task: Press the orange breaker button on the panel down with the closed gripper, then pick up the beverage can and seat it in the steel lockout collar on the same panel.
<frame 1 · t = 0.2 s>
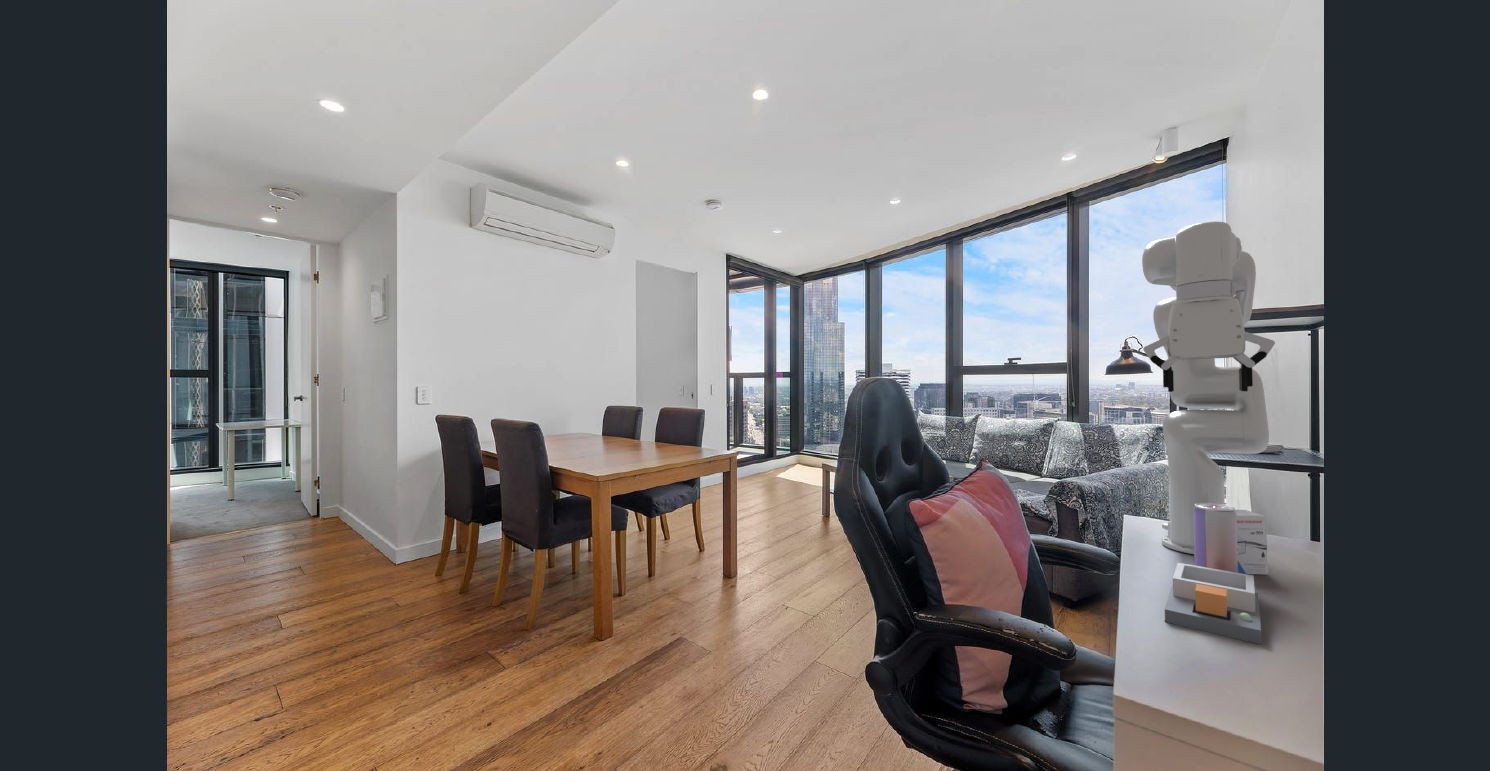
hand: (1206, 391, 91), 37 cm above the table, tool pointing down, fingers open, 9 cm apart
beverage can: (1216, 587, 97), on the table
breaker button: (1211, 599, 82), point 4 cm above the table, slide at 0.0 cm
ink box: (1234, 571, 104), on the table
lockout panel: (1213, 605, 88), on the table
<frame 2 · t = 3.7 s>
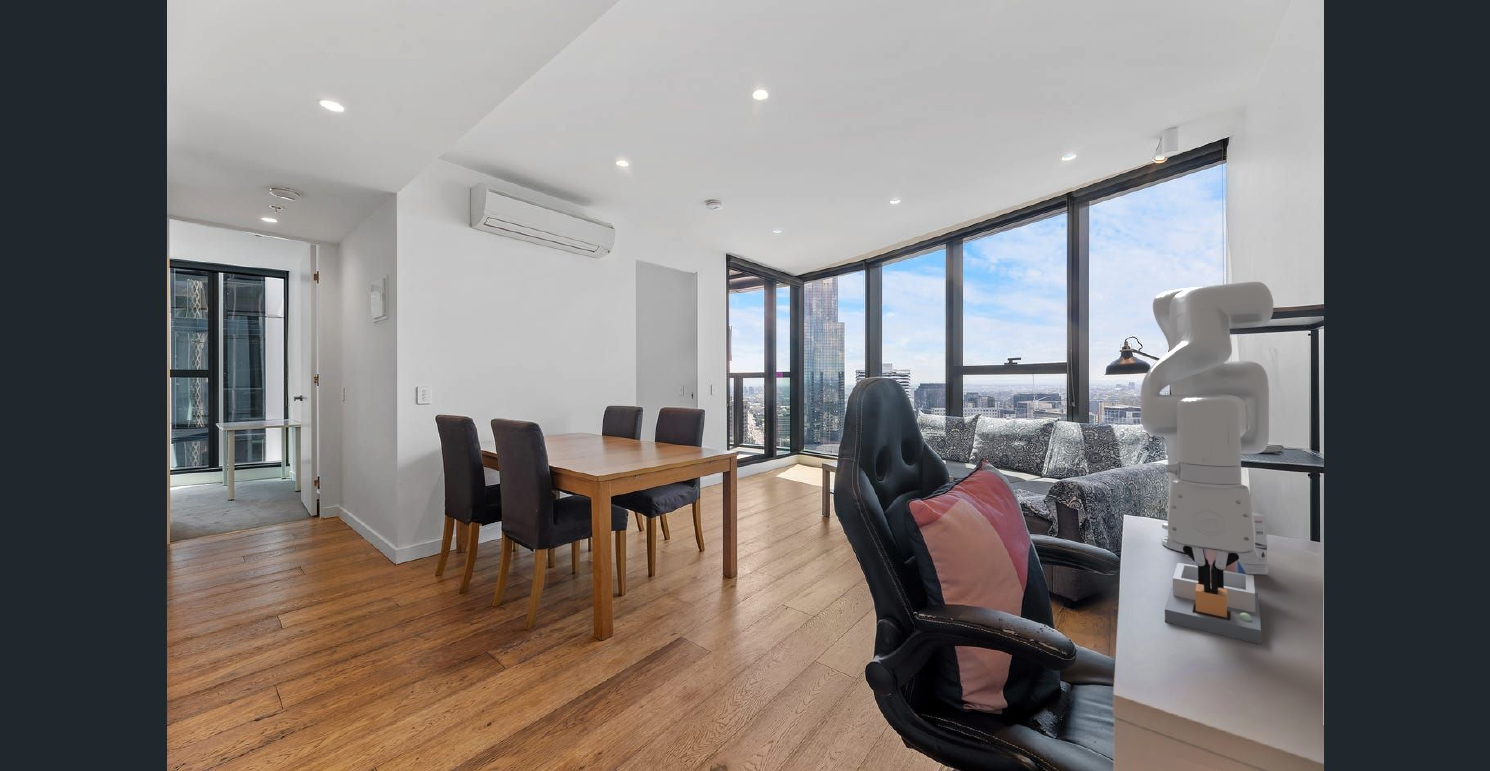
hand: (1211, 590, 82), 5 cm above the table, tool pointing down, fingers closed
breaker button: (1211, 600, 82), point 4 cm above the table, slide at 0.1 cm, touching gripper
everything else where it was.
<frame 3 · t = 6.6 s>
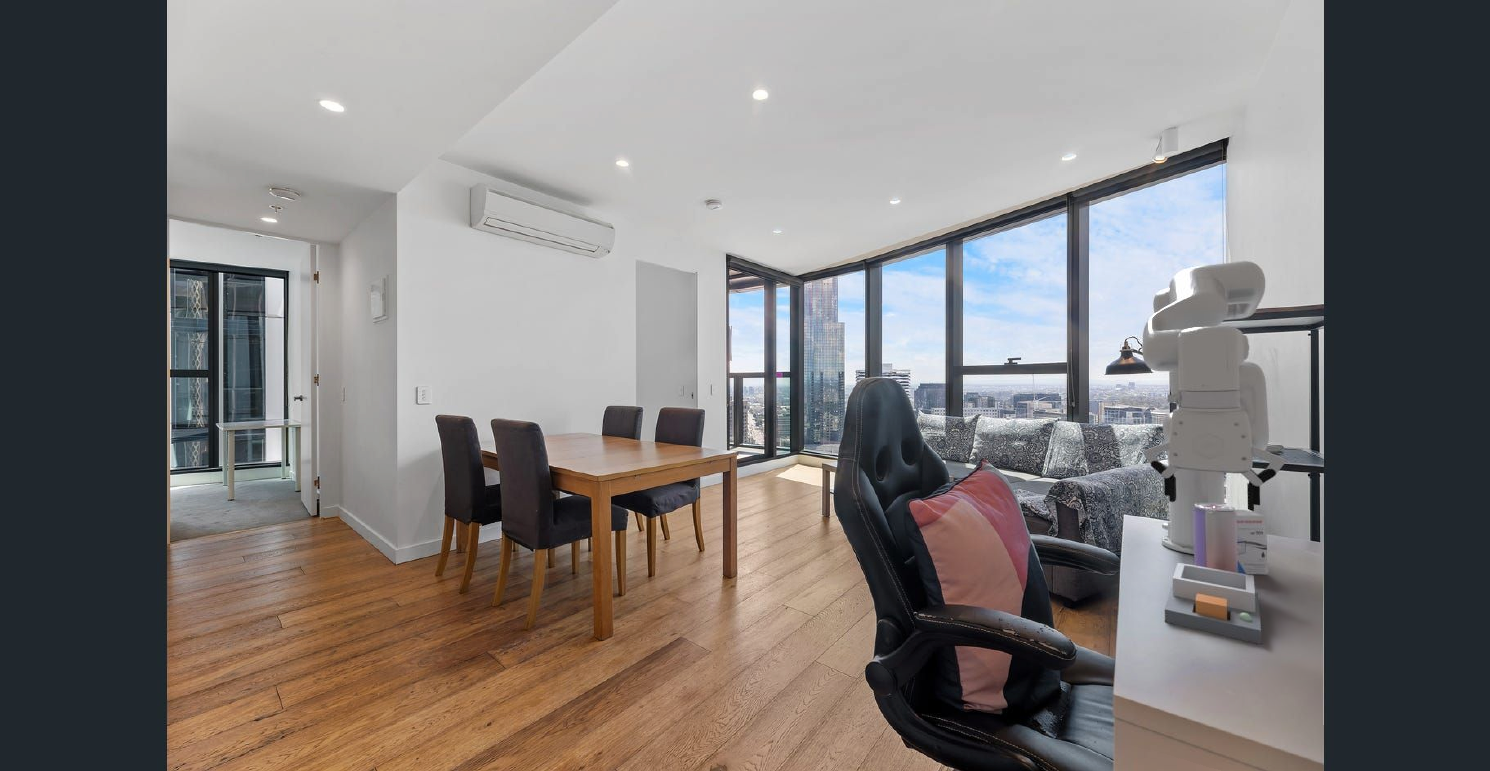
hand: (1210, 504, 86), 18 cm above the table, tool pointing down, fingers open, 9 cm apart
breaker button: (1211, 609, 82), point 2 cm above the table, slide at 1.6 cm
everything else where it was.
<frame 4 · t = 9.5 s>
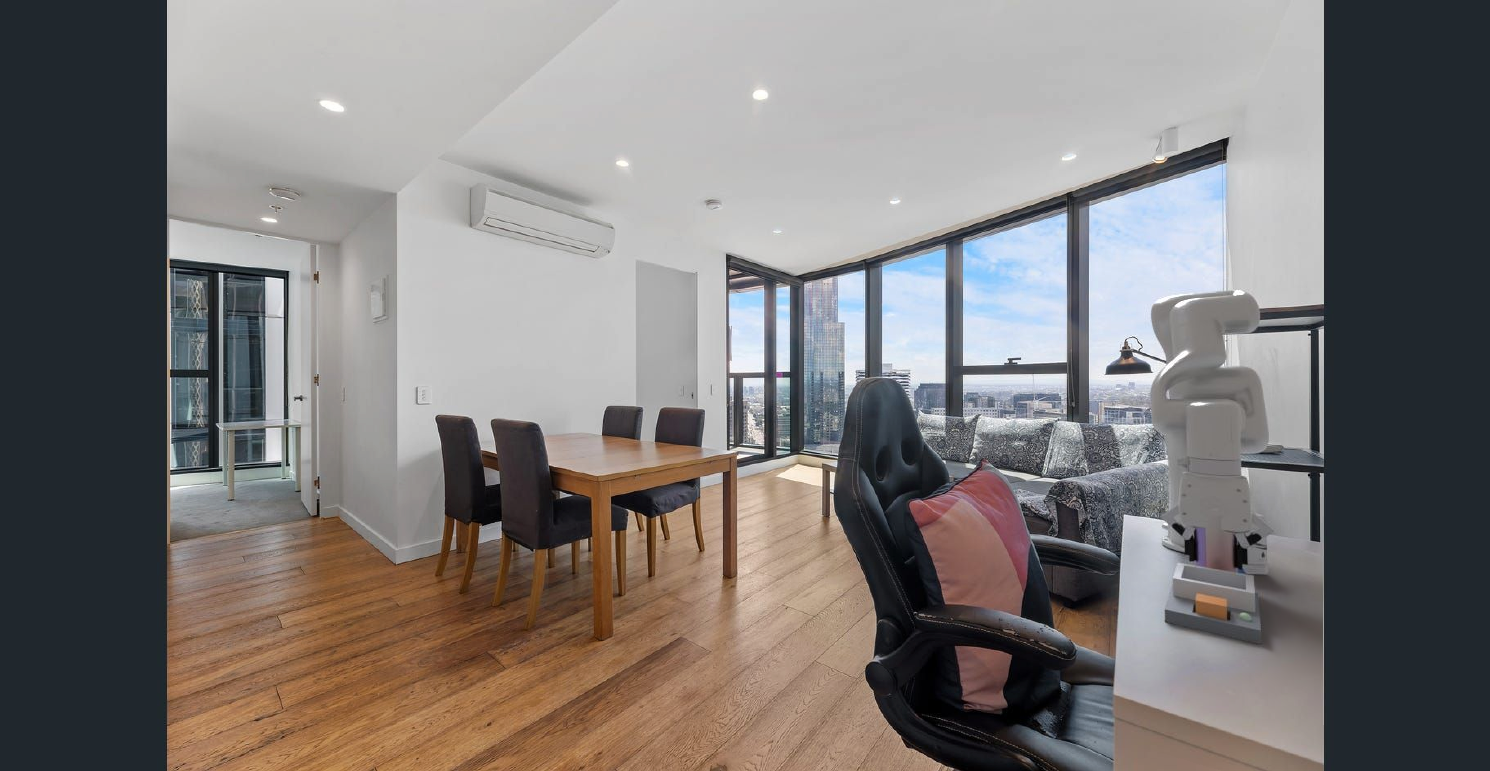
hand: (1215, 562, 97), 4 cm above the table, tool pointing down, fingers closed on beverage can, 6 cm apart
beverage can: (1216, 587, 97), on the table, touching gripper
everything else where it was.
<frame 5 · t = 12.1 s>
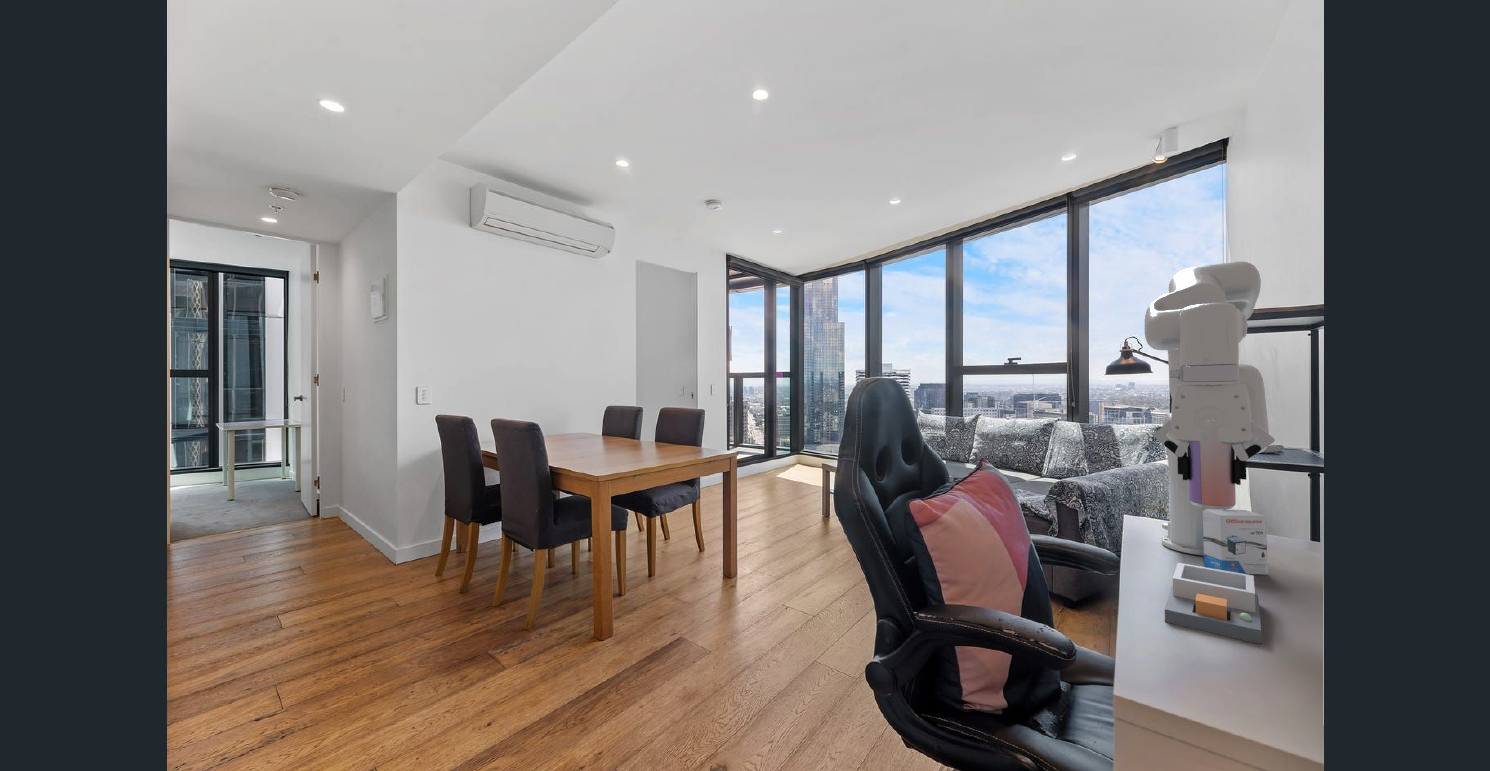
hand: (1211, 480, 89), 22 cm above the table, tool pointing down, fingers closed on beverage can, 6 cm apart
beverage can: (1211, 506, 89), point 17 cm above the table, touching gripper
everything else where it was.
when the fingers open (8 cm above the table, at t = 15.1 s): beverage can drops 1 cm, resting on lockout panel.
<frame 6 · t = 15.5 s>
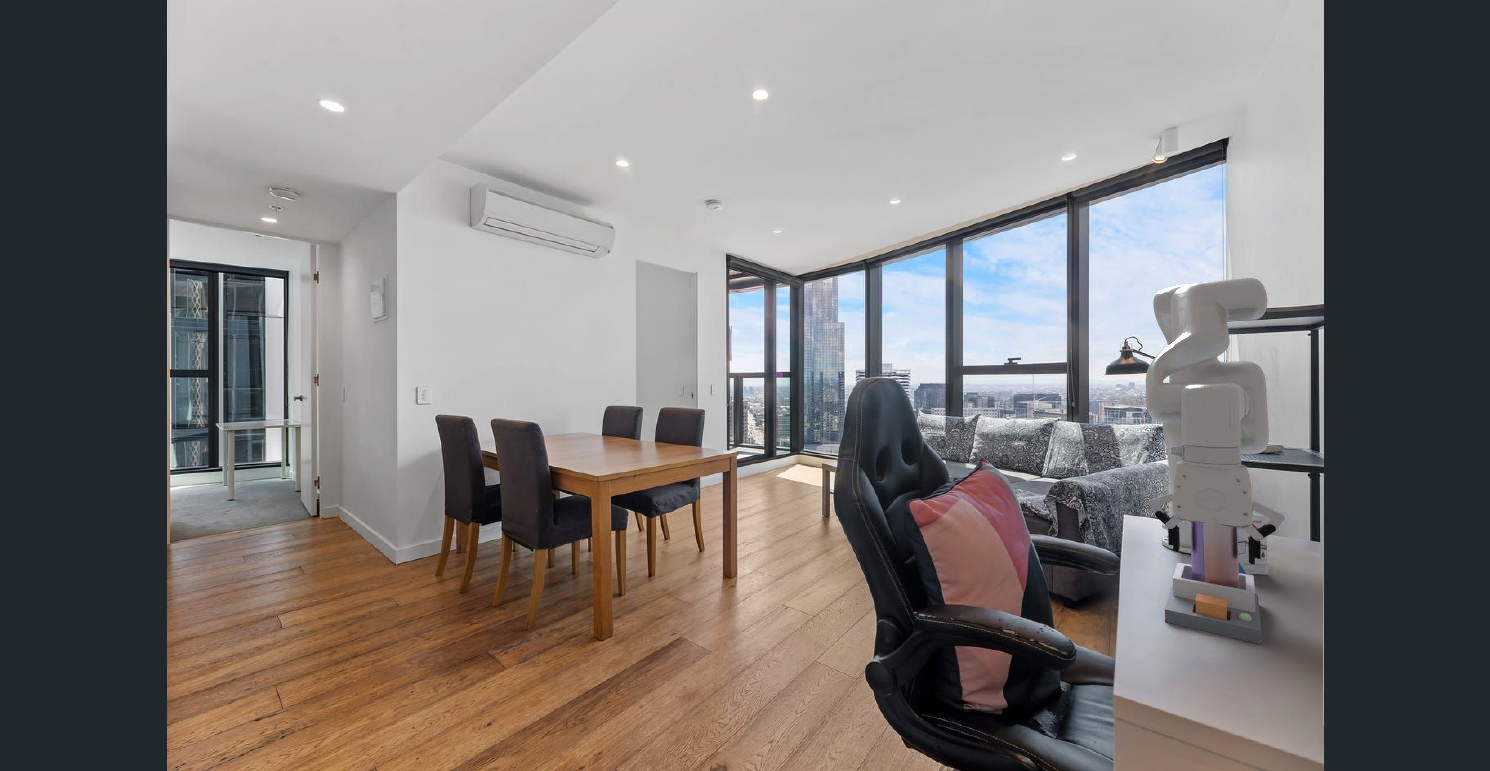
hand: (1212, 555, 88), 9 cm above the table, tool pointing down, fingers open, 9 cm apart
beverage can: (1215, 595, 88), point 2 cm above the table, touching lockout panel
everything else where it was.
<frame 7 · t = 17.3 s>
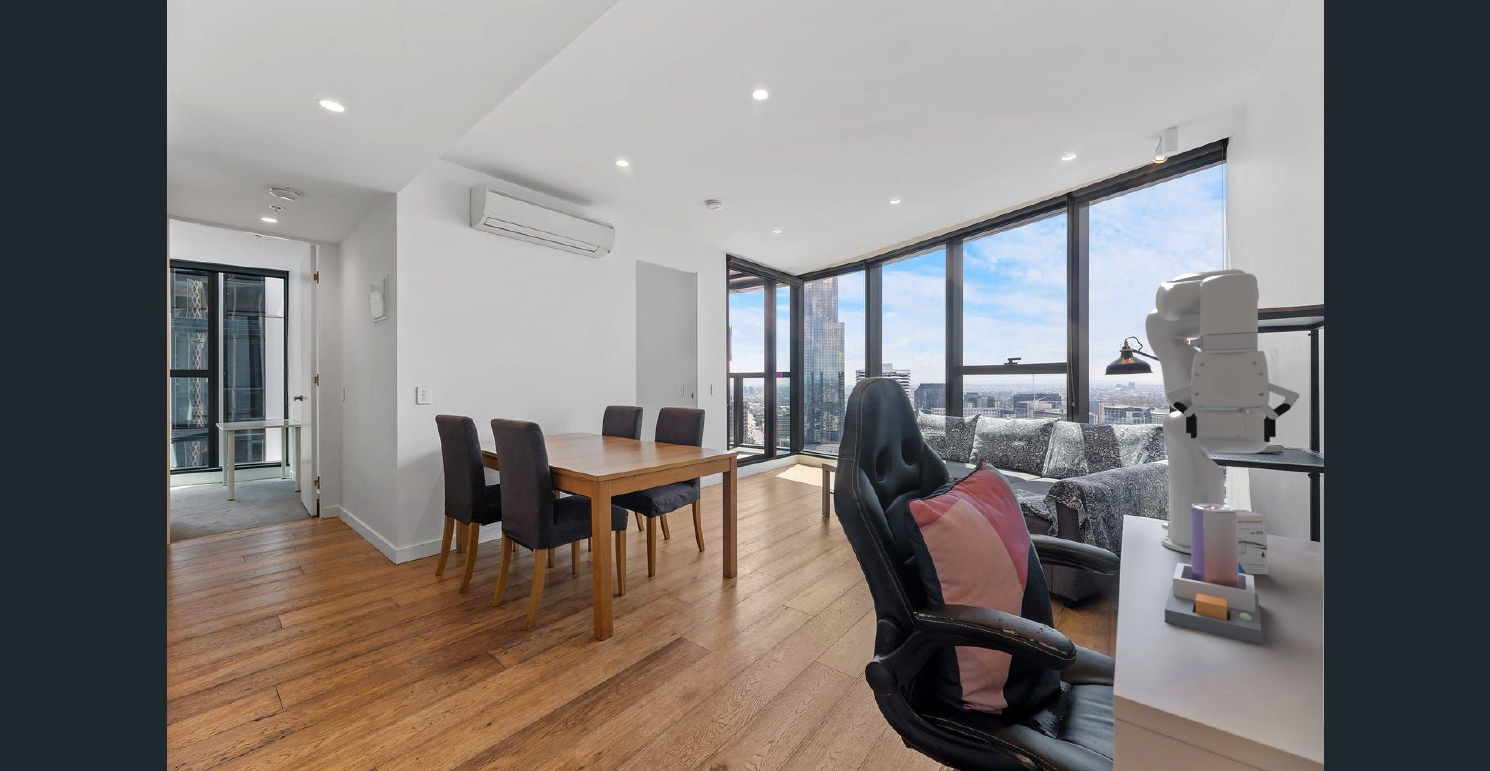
hand: (1229, 439, 93), 28 cm above the table, tool pointing down, fingers open, 9 cm apart
nothing on the table moved.
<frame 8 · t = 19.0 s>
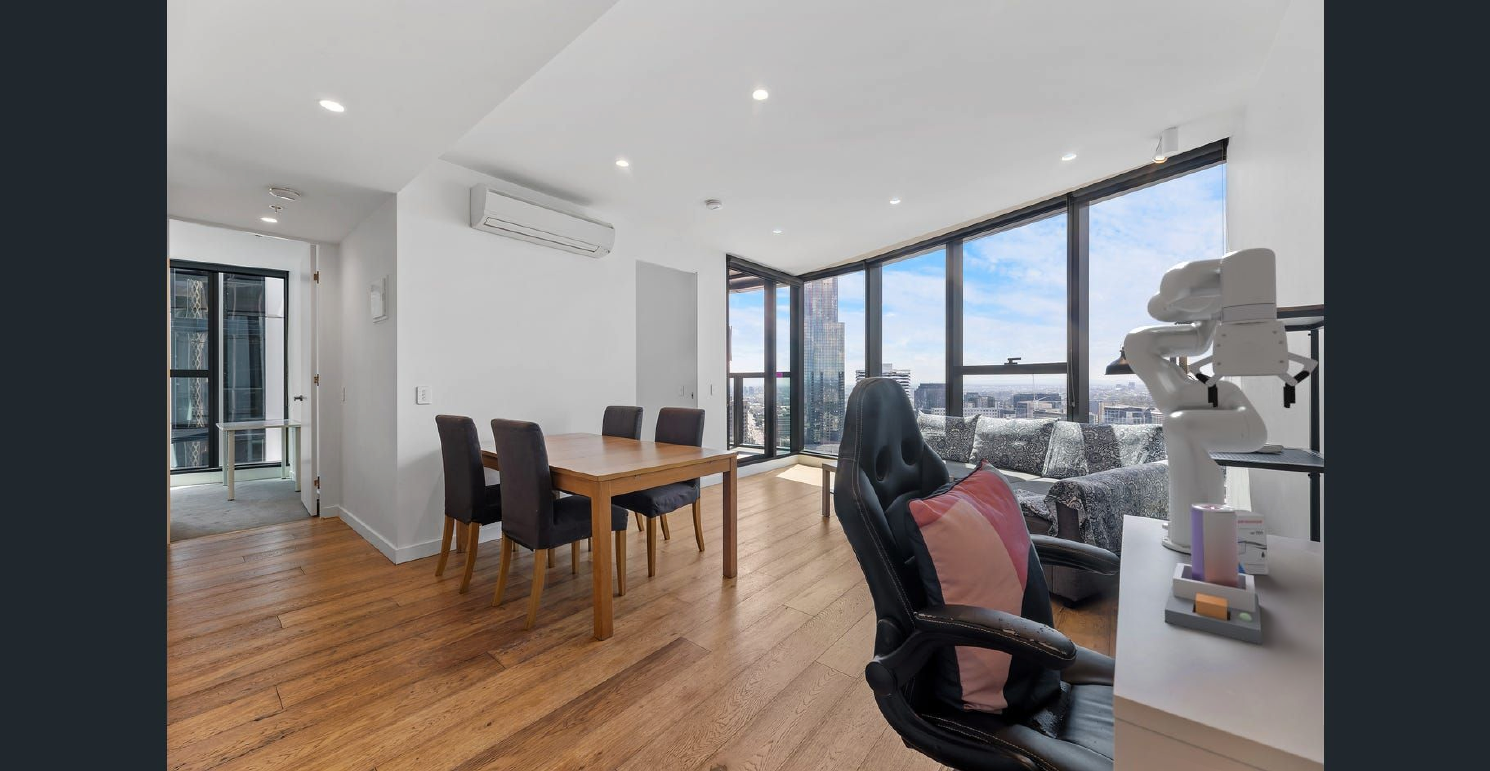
hand: (1250, 407, 97), 33 cm above the table, tool pointing down, fingers open, 9 cm apart
nothing on the table moved.
at the end: breaker button slide at 1.6 cm; beverage can 0.2 cm from the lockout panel (horizontally); beverage can point 1.8 cm above the table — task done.
